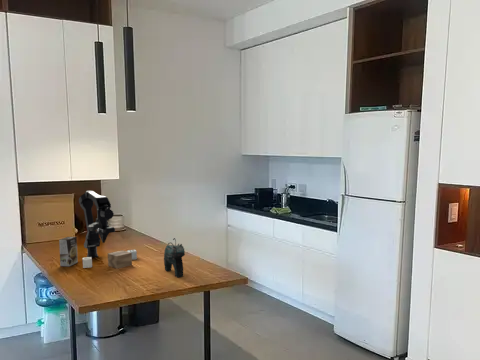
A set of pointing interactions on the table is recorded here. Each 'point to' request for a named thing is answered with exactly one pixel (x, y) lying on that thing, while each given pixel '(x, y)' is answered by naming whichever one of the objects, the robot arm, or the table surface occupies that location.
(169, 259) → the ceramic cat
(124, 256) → the plain walnut block
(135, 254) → the grey numeral block
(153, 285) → the table surface
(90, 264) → the offwhite numeral block
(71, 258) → the coffee box
